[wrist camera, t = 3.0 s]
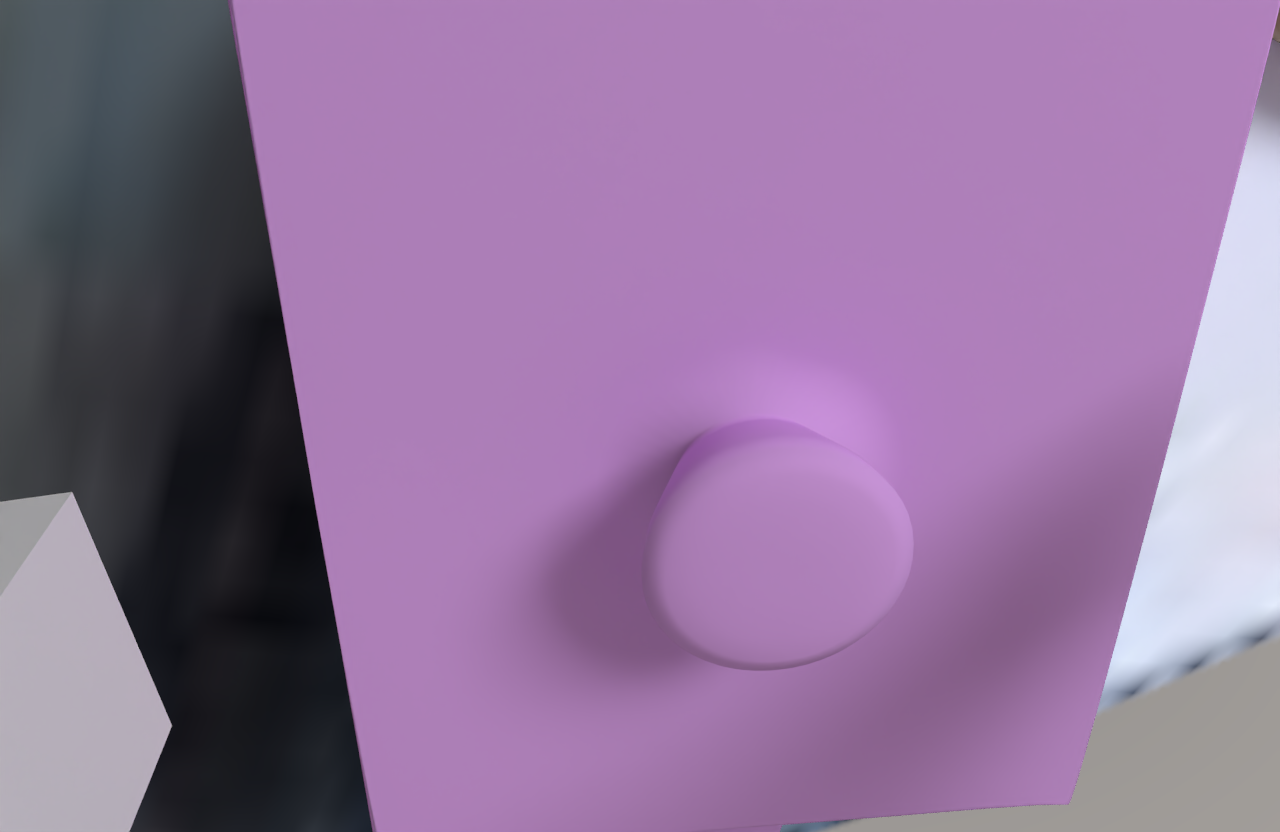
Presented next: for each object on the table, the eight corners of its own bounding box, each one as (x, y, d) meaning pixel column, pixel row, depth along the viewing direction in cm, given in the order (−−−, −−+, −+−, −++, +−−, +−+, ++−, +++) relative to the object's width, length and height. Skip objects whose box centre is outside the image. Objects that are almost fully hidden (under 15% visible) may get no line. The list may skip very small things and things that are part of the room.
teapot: (866, 528, 27) (1096, 1031, 16) (442, 551, 26) (379, 1094, 15) (989, -545, 17) (1795, -1131, 6) (319, -557, 16) (-96, -1249, 6)
